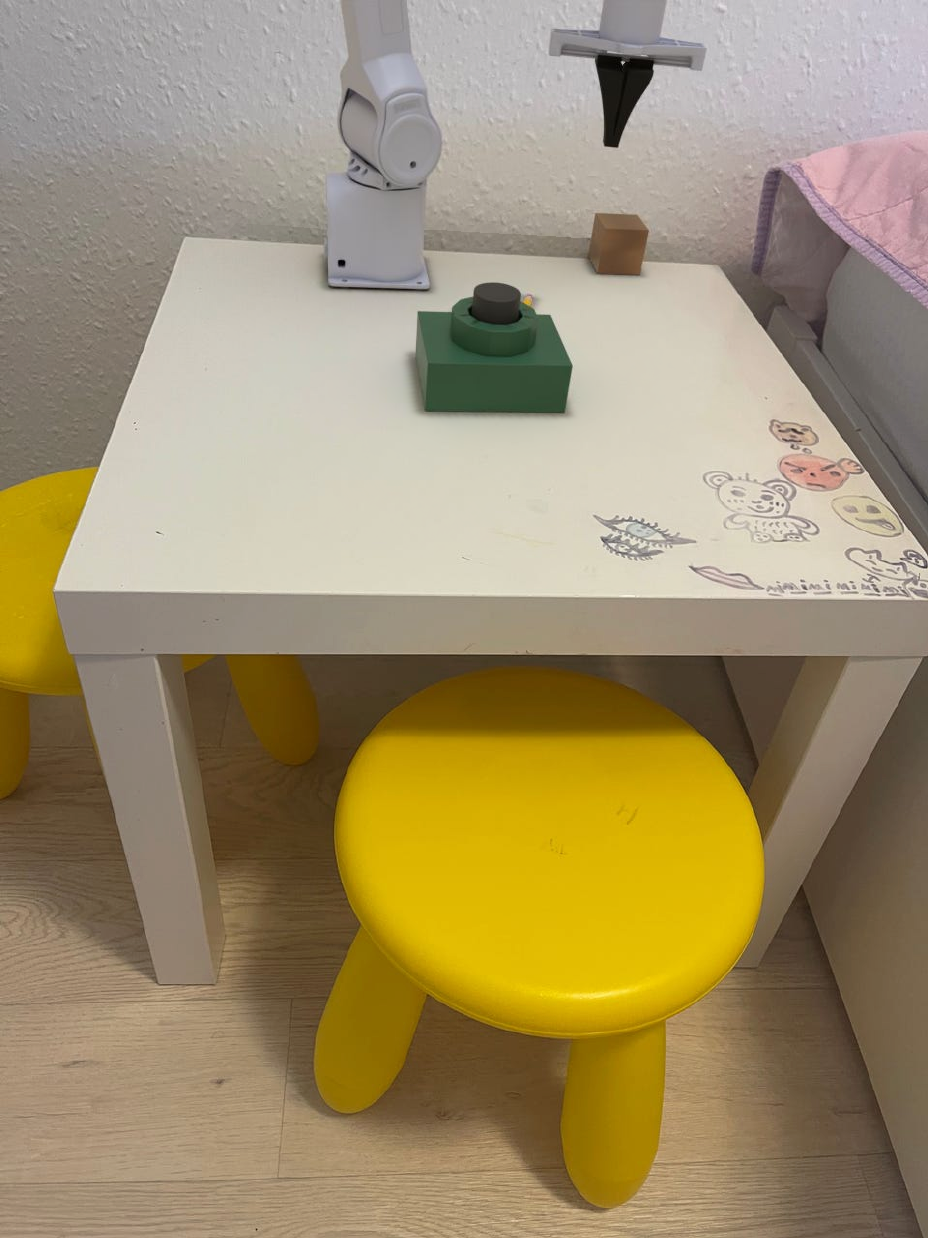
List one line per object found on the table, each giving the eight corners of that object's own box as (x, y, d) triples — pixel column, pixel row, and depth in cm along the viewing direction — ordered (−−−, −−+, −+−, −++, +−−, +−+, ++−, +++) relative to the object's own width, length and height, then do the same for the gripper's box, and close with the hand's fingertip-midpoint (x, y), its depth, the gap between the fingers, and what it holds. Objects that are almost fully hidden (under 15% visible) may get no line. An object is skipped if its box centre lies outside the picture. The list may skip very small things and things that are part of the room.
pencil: (532, 302, 88) (533, 294, 88) (517, 339, 82) (518, 331, 81) (524, 300, 88) (525, 293, 88) (508, 337, 82) (509, 330, 81)
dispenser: (424, 411, 70) (429, 337, 66) (415, 356, 77) (418, 286, 73) (564, 412, 72) (577, 340, 68) (543, 359, 79) (553, 290, 75)
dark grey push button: (474, 327, 69) (477, 300, 68) (468, 306, 72) (470, 281, 70) (521, 328, 70) (524, 302, 68) (513, 308, 72) (517, 282, 71)
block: (597, 273, 94) (605, 228, 91) (587, 256, 97) (595, 212, 94) (639, 274, 95) (649, 230, 92) (628, 258, 98) (637, 214, 95)
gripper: (560, -21, 80) (539, 148, 89) (725, -4, 80) (687, 163, 89) (557, -32, 85) (538, 128, 94) (712, -17, 86) (678, 142, 95)
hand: (610, 144), depth 92 cm, fingers closed
